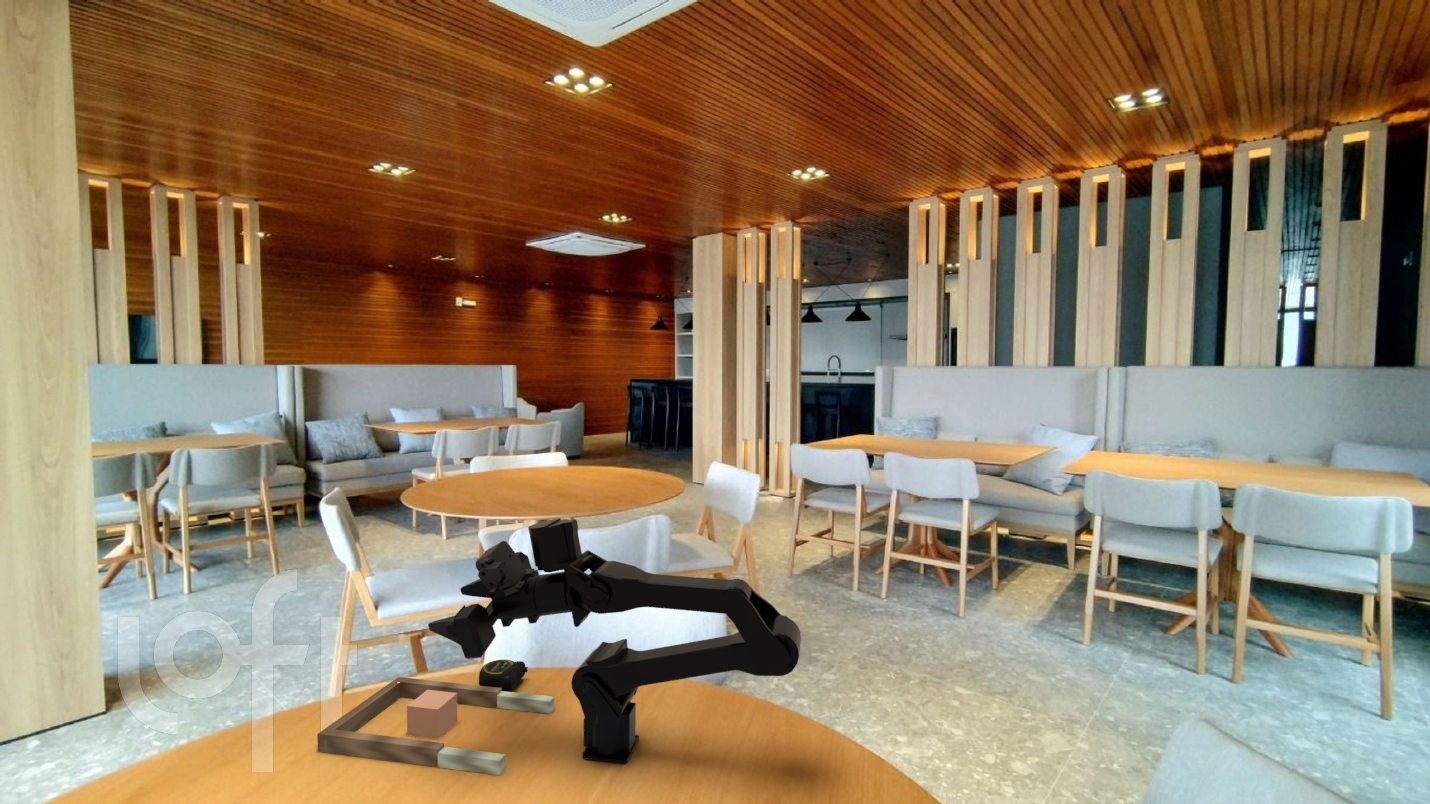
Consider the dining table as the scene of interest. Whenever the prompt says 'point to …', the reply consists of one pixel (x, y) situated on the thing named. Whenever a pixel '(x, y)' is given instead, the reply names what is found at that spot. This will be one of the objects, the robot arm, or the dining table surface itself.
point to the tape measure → (502, 674)
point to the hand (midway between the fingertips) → (446, 608)
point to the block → (432, 714)
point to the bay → (421, 752)
